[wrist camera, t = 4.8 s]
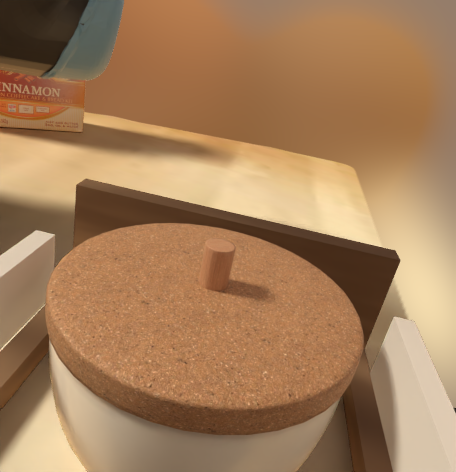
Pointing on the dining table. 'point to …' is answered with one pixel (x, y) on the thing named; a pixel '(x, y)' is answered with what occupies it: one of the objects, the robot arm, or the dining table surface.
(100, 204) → the shelf lane
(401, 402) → the robot arm
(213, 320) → the lidded jar
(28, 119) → the coffeecake box
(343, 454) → the dining table surface
